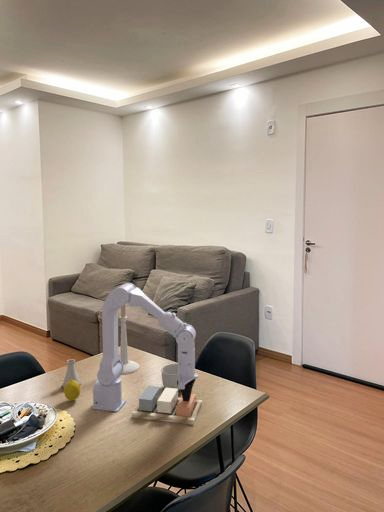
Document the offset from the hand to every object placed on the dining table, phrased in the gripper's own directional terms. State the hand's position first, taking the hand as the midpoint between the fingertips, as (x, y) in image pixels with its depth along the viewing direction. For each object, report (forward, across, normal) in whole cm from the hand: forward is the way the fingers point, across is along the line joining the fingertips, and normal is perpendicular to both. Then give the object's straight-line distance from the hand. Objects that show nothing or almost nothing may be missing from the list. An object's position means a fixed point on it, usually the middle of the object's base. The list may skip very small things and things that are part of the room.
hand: (186, 400), depth 139 cm
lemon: (+5, -1, +42) cm, 42 cm away
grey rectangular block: (+3, 0, +13) cm, 13 cm away
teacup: (+5, +19, +8) cm, 21 cm away
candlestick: (+5, +31, +35) cm, 47 cm away
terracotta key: (+4, 0, 0) cm, 4 cm away
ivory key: (+3, 0, +6) cm, 7 cm away
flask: (+5, +11, +49) cm, 50 cm away
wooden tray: (+4, 0, +6) cm, 8 cm away
